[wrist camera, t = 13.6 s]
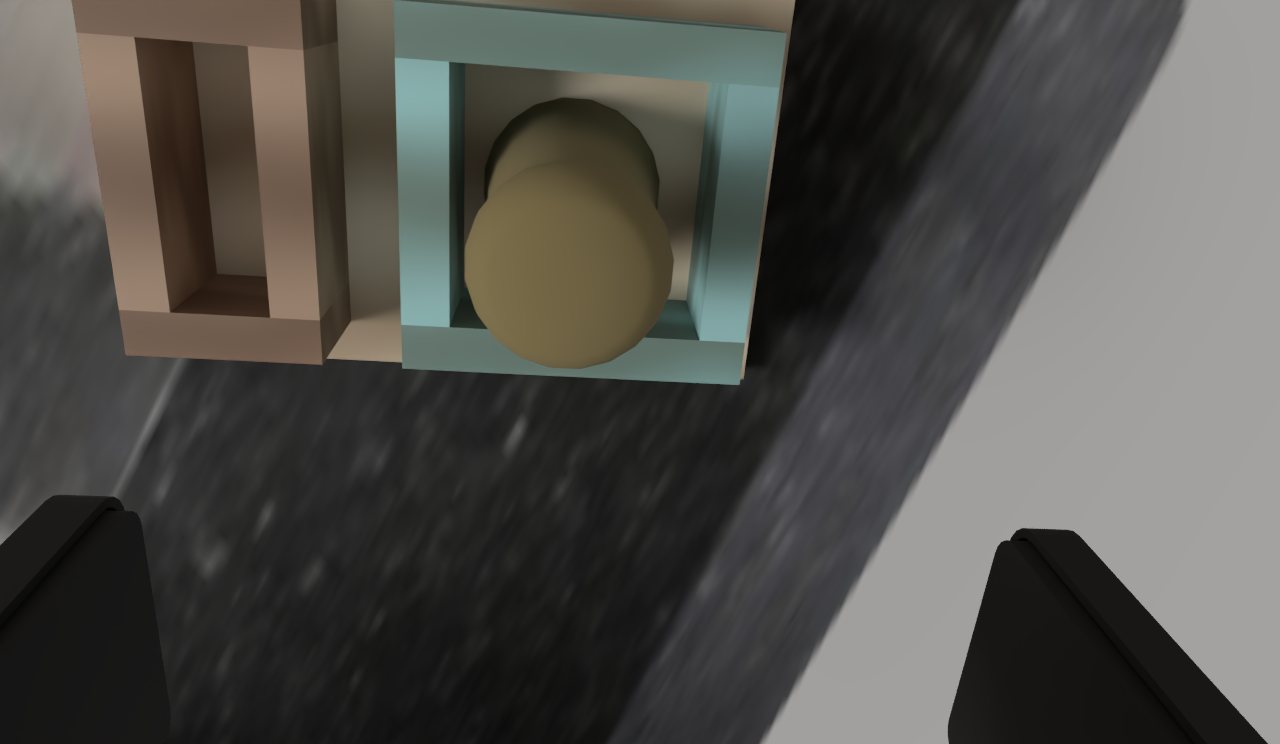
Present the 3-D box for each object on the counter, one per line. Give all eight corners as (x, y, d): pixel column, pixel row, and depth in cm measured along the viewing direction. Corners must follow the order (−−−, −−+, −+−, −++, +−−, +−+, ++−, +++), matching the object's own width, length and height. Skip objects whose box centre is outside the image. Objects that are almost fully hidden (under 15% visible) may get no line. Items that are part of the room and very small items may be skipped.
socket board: (739, 368, 35) (763, 426, 31) (150, 338, 34) (83, 396, 29) (791, -22, 30) (829, -22, 25) (91, -85, 28) (-4, -96, 23)
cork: (470, 252, 32) (420, 379, 22) (500, 77, 30) (460, 128, 20) (637, 288, 33) (662, 425, 23) (678, 120, 31) (728, 190, 21)
